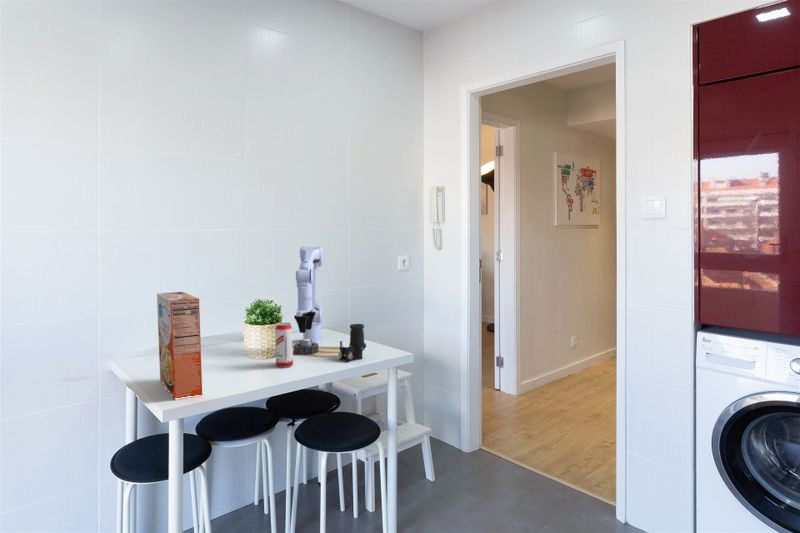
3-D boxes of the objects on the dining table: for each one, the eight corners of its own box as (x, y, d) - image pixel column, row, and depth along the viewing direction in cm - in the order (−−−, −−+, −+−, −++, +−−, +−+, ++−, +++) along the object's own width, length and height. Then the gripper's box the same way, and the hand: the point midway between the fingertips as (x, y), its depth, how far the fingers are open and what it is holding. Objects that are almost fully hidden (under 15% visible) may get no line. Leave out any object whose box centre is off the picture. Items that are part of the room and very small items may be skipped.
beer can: (287, 363, 192) (286, 321, 191) (296, 366, 188) (295, 323, 187) (272, 366, 188) (271, 323, 187) (281, 369, 184) (280, 326, 183)
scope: (337, 325, 195) (359, 322, 201) (338, 360, 196) (359, 356, 202) (349, 328, 189) (371, 325, 195) (349, 364, 190) (371, 360, 196)
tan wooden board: (301, 347, 219) (301, 345, 219) (354, 348, 215) (354, 347, 215) (285, 357, 202) (285, 355, 202) (343, 359, 198) (343, 357, 198)
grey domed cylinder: (302, 350, 210) (302, 338, 210) (313, 350, 210) (313, 338, 209) (298, 353, 205) (298, 340, 205) (310, 353, 205) (309, 341, 204)
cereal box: (160, 382, 169) (156, 293, 167) (185, 377, 173) (182, 291, 171) (174, 400, 150) (170, 301, 148) (202, 395, 155) (199, 298, 153)
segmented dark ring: (298, 348, 213) (298, 341, 213) (321, 349, 212) (321, 342, 211) (289, 354, 203) (289, 347, 203) (313, 355, 202) (313, 348, 202)
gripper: (308, 300, 198) (308, 334, 199) (320, 296, 212) (320, 327, 213) (291, 300, 199) (291, 334, 200) (304, 296, 214) (304, 327, 215)
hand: (305, 331), depth 207 cm, fingers open, 6 cm apart
